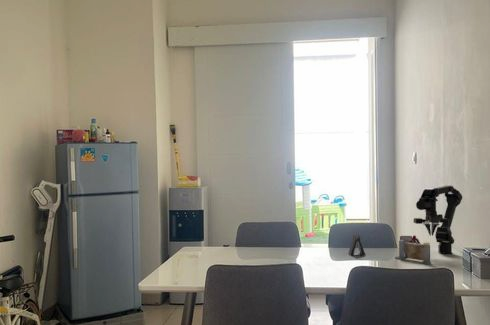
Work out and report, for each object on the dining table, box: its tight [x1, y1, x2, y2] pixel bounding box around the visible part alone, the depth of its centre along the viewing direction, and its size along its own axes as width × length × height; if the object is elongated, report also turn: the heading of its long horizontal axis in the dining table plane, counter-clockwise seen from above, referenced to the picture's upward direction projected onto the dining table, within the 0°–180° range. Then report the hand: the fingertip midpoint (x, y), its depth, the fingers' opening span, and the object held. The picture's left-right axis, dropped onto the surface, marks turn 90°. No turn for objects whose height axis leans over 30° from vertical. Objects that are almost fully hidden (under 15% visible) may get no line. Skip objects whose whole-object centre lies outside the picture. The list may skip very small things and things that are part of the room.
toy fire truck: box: [399, 235, 421, 247], centre depth 271 cm, size 7×12×10 cm, turn 84°
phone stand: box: [347, 233, 366, 257], centre depth 267 cm, size 9×6×12 cm, turn 89°
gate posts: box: [394, 239, 432, 265], centre depth 247 cm, size 20×7×11 cm, turn 45°
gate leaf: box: [405, 242, 431, 262], centre depth 246 cm, size 14×2×9 cm, turn 44°
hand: (431, 235), depth 260 cm, fingers closed
